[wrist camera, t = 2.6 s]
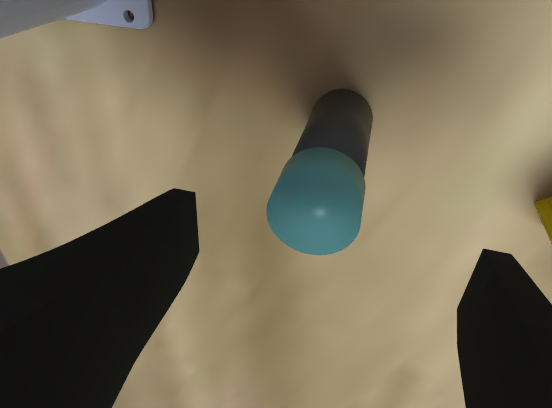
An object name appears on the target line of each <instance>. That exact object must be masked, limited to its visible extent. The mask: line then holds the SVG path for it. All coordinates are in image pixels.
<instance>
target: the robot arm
mask: <svg viewBox="0 0 552 408" xmlns="http://www.w3.org/2000/svg"><path fill="white" fill-rule="evenodd" d="M128 10H129V11H131V12H132V13H133V15H134V21H133V20H131V19H130V18H129V16H128ZM59 19H66V20H74V21H81V22H89V23H96V24H104V25H112V26H119V27H127V28H134V29H146V28H148V27H149V26H151V24H152V22H153V12H152V2H151V0H0V38H3V37H6V36H9V35H12V34H15V33H18V32H21V31H24V30H28V29H31V28H34V27H37V26H40V25H43V24H46V23H50V22H53V21H56V20H59ZM198 253H199V239H198V225H197V210H196V196H195V192H191V191H185V190H180V189H175V188H174V189H171V190H169V191H167V192H165V193H163V194H161V195H159V196H158V197H156V198H154V199H152V200H150V201H148V202H146V203H145V204H143V205H141V206H139V207H137V208H135V209H134V210H132V211H130V212H128V213H126V214H124V215H122V216H121V217H119V218H117V219H115V220H113V221H111V222H109V223H107V224H105V225H103V226H101V227H99V228H97V229H95V230H93V231H91V232H89V233H87V234H85V235H83V236H81V237H79V238H77V239H75V240H72V241H70V242H68V243H66V244H64V245H61V246H59V247H57V248H54V249H52V250H50V251H47V252H45V253H42V254H40V255H37V256H35V257H32V258H29V259H27V260H24V261H22V262H19V263H16V264H13V265H10V266H7V267H4V268H1V269H0V408H112V406H113V404H114V402H115V400H116V398H117V396H118V394H119V392H120V390H121V388H122V386H123V384H124V382H125V380H126V378H127V376H128V374H129V372H130V370H131V368H132V366H133V365H134V363H135V361H136V360H137V358H138V356H139V354H140V353H141V351H142V349H143V348H144V346H145V345H146V343H147V342H148V340H149V338H150V337H151V335H152V334H153V332H154V331H155V329H156V328H157V326H158V324H159V323H160V321H161V320H162V318H163V317H164V315H165V314H166V312H167V310H168V309H169V307H170V306H171V304H172V303H173V301H174V299H175V298H176V296H177V295H178V293H179V291H180V290H181V288H182V287H183V285H184V283H185V281H186V279H187V277H188V275H189V273H190V271H191V269H192V267H193V264H194V262H195V260H196V258H197V255H198ZM457 348H458V356H459V363H460V370H461V378H462V385H463V391H464V398H465V405H466V408H552V304H551V303H550V302H549V301H548V299H547V298H546V297H545V296H544V294H543V293H542V292H541V291H540V289H539V288H538V287H537V286H536V284H535V283H534V282H533V280H532V279H531V278H530V277H529V275H528V274H527V273H526V272H525V270H524V269H523V268H522V267H521V265H520V264H519V263H518V262H517V260H516V259H515V258H514V257H513V256H512V255H511V254H508V253H503V252H498V251H493V250H487V249H483V250H482V253H481V255H480V257H479V259H478V262H477V264H476V266H475V269H474V271H473V273H472V276H471V278H470V280H469V282H468V285H467V287H466V289H465V292H464V294H463V296H462V299H461V301H460V303H459V305H458V308H457Z"/></svg>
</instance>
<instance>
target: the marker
mask: <svg viewBox="0 0 552 408" xmlns="http://www.w3.org/2000/svg"><path fill="white" fill-rule="evenodd" d="M372 121H373V116H372V111H371V108H370V106H369V104H368V102H367V101H366V100H365V99H364V98H363V97H362V96H361V95H359V94H357V93H355V92H353V91H350V90H334V91H331V92H329V93H327V94H325V95H324V96H322V97H321V98H320V99H319V100H318V102H317V103H316V105H315V107H314V109H313V111H312V113H311V115H310V118H309V120H308V122H307V124H306V126H305V129H304V131H303V133H302V135H301V137H300V140H299V142H298V144H297V146H296V149H295V151H294V153H293V155H292V157H291V158H290V159H289V160H288V162H287V163H286V164H285V166H284V168H283V170H282V172H281V175H280V177H279V179H278V181H277V183H276V185H275V188H274V190H273V192H272V194H271V196H270V198H269V201H268V204H267V219H268V222H269V225H270V227H271V229H272V231H273V232H274V234H275V235H276V236H277V237H278V238H279V239H280V240H281V241H282V242H283V243H285V244H286V245H288V246H289V247H291V248H293V249H295V250H297V251H300V252H303V253H306V254H312V255H327V254H332V253H336V252H338V251H341V250H343V249H344V248H346V247H347V246H349V245H350V244H351V243H352V242H353V241H354V239H355V238H356V236H357V234H358V232H359V229H360V224H361V217H362V209H363V202H364V195H365V179H364V175H365V168H366V161H367V155H368V148H369V141H370V134H371V128H372Z"/></svg>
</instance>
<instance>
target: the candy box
mask: <svg viewBox="0 0 552 408" xmlns="http://www.w3.org/2000/svg"><path fill="white" fill-rule="evenodd" d="M534 204H535V207H536V209H537V211H538V214H539V216H540V218H541V221H542V223H543V225H544V228H545V230H546V232H547V234H548V236H549V239H550V241H551V243H552V196H551V197H548V198H545V199H542V200H538V201H536V202H535V203H534Z"/></svg>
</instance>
